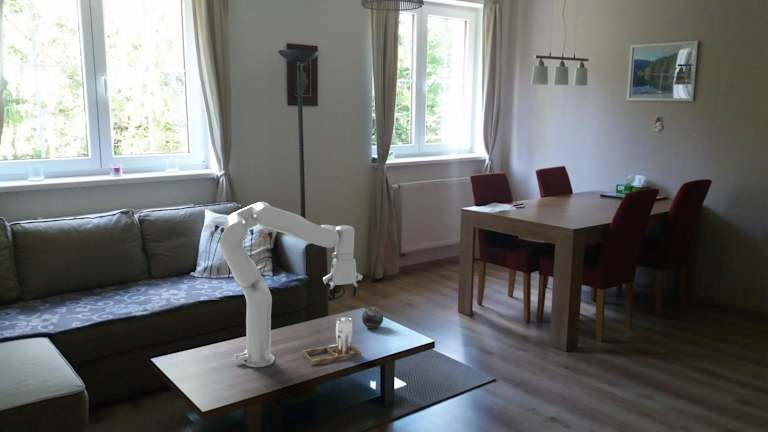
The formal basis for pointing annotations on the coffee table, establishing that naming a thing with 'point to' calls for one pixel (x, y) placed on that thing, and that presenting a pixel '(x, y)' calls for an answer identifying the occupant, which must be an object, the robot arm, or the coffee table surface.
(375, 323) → the decorative stone
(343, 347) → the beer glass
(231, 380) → the coffee table surface
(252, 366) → the robot arm
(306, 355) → the coaster frame
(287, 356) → the coffee table surface
